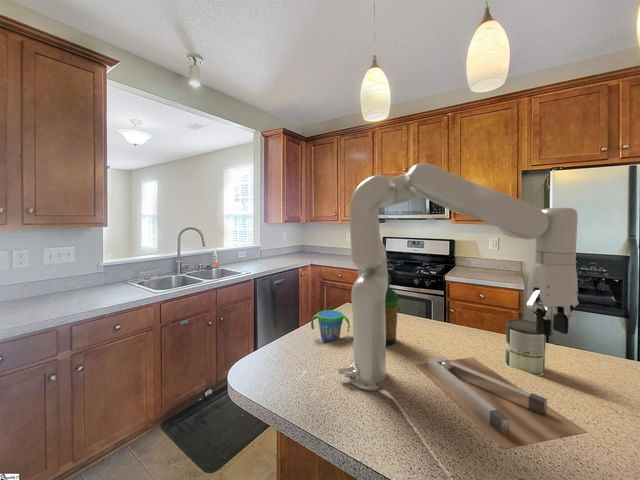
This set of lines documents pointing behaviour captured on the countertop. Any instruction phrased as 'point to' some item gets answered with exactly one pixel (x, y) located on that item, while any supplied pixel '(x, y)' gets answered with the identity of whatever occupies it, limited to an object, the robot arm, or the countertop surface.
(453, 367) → the tongs arm
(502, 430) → the tongs fixed arm
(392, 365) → the countertop surface
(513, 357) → the coffee can
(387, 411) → the countertop surface
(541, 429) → the walnut board
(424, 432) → the countertop surface
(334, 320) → the snack cup
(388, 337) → the bottle
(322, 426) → the countertop surface
